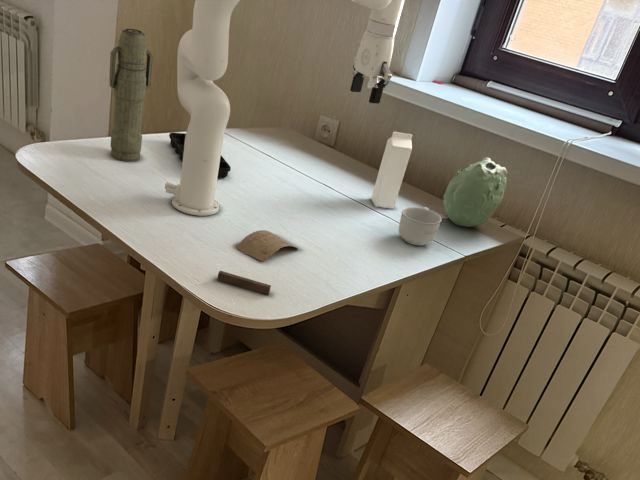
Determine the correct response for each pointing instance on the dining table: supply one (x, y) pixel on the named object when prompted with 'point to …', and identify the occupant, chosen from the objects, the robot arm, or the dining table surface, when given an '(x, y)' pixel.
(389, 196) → the milk
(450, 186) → the green vase
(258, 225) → the dining table surface
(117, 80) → the thermos
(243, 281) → the bar
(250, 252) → the brown curved bark
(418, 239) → the teacup
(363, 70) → the robot arm
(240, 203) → the dining table surface
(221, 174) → the egg carton
